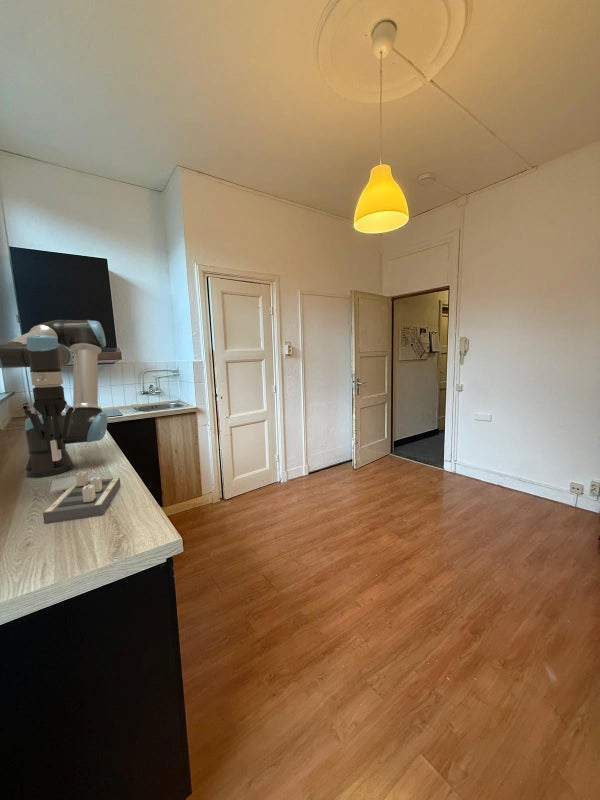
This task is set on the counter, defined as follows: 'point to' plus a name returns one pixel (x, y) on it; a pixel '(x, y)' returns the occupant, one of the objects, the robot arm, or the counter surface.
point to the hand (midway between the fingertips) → (57, 459)
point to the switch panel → (81, 502)
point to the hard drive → (62, 484)
